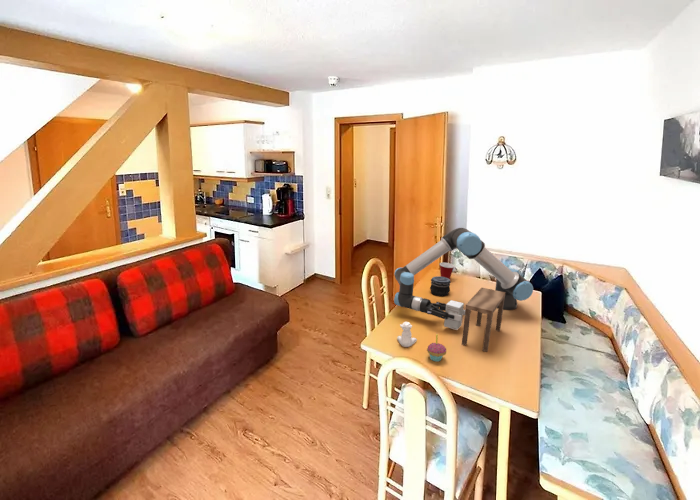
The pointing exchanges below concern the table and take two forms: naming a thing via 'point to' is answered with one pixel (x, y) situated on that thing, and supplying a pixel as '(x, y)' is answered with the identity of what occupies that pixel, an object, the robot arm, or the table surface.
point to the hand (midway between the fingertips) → (463, 315)
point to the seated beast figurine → (406, 335)
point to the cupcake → (436, 350)
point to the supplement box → (455, 309)
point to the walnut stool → (486, 304)
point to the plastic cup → (446, 269)
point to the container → (440, 286)
